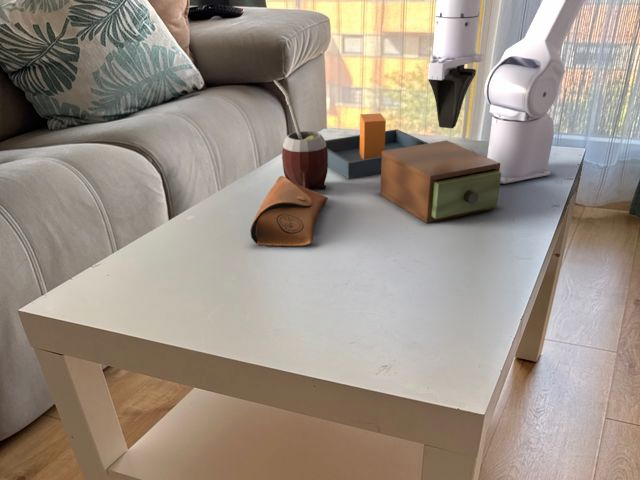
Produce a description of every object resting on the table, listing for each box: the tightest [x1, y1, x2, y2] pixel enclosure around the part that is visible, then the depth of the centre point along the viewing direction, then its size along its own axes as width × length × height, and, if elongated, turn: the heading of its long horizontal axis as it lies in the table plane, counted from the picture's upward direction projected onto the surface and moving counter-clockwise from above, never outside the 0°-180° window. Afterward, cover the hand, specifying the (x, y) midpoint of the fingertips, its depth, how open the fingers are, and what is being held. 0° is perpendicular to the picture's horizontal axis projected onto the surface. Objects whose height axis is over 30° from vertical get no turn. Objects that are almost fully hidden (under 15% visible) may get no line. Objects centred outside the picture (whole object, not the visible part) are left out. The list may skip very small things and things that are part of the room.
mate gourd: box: [273, 78, 329, 191], centre depth 96 cm, size 8×8×15 cm
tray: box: [324, 128, 429, 180], centre depth 111 cm, size 17×14×2 cm
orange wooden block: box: [359, 112, 387, 159], centre depth 109 cm, size 4×5×6 cm
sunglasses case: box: [250, 175, 329, 248], centre depth 89 cm, size 18×7×7 cm
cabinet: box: [379, 140, 500, 224], centre depth 93 cm, size 13×11×6 cm
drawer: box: [431, 170, 501, 219], centre depth 91 cm, size 14×10×5 cm
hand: (447, 126), depth 92 cm, fingers closed
